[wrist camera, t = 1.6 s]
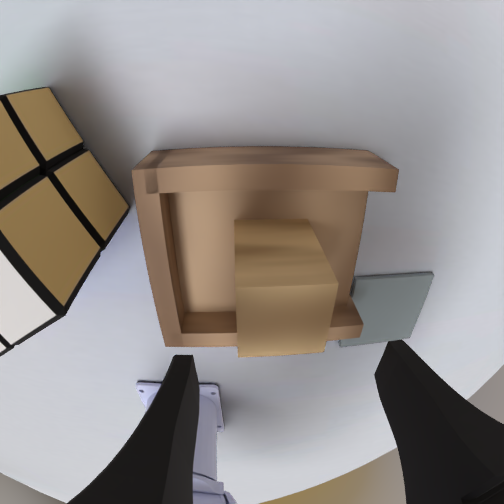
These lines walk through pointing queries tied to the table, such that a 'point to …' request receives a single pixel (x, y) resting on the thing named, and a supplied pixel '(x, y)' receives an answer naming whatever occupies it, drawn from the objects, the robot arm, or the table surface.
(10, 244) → the puzzle cube
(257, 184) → the tray
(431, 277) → the slate pad
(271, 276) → the oak block
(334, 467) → the table surface
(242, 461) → the table surface
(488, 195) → the table surface
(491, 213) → the table surface
